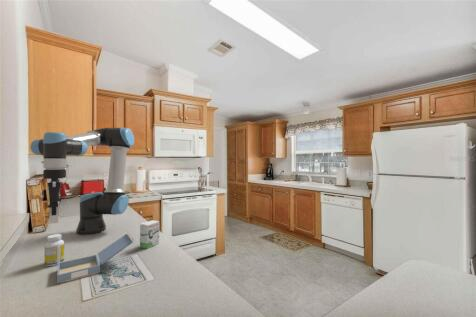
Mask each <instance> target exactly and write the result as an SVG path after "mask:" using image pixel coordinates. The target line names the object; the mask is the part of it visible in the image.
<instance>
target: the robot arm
mask: <svg viewBox="0 0 476 317" xmlns="http://www.w3.org/2000/svg"><path fill="white" fill-rule="evenodd" d="M134 144H135V135H134V133H133V131H132V130H131V129H130V128H128V127H101V128H97V129H93V130H88V131H86V132H85V133H78V134H71V135H66V133H63V132H58V131H57V132H55V131H50V132H48V131H47V132H45V133H44V134H43V138H39V139H34V140H32V141H31V143H30V150H31V152H32V154H34V155H36V156H43V160H42V161H41V164H43V165H42V166H43V171H42V176H43V179H46V180H49V179H50V182H49V183H48V192H49V204H48V205H47V207H46V208H48V209H49V225H51V224H58V223H59V216H60V202H62V198H60V192H61V186H62V183H61V181H60V179H64V178H66V177H67V170H66V169H67V156H76V157H77V156H84V155H85V154H86V153H88V148H89V146H90V147H97V146H99V147H100V146H101V147H102V146H103V147H104V146H105V147H108V149H109V150H111V153H110V159H109V160H110V161H109V168H108V179H107V187H106V190H105V191H103V192H102V191H99V192H92V193H87V194H82V195H81V196H80V199H79V221H78V225H77V227H76V228H75V229H76V230H75V234H76V235H77V234H78V236H90V234H91V235H96V233H97V234H100V233H102V231H103V232H104V230H105V231H106V230H107V225H106V223H105V219H104V217H103V216H104V215H112V216H116V215H122V214H124V213H125V212H126V210H127V208H128V205H129V202H130V201H129V196H128V195H127V194H126V191H125V190H124V183H125V173H126V172H125V171H126V162H127V154H128V152H129V151H131V150H130V148H131V147H132V146H134Z"/></svg>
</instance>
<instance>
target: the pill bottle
mask: <svg viewBox="0 0 476 317" xmlns="http://www.w3.org/2000/svg"><path fill="white" fill-rule="evenodd" d="M46 238H47V242H46V243H45V244H44V266H46V267H53V266H58V263H60V262H65V241H64V240H63V239H62V233H61V234H60V233H55V234H51V235H48V236H47V237H46Z"/></svg>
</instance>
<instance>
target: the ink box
mask: <svg viewBox="0 0 476 317" xmlns="http://www.w3.org/2000/svg"><path fill="white" fill-rule="evenodd" d="M158 244H160V221H159V220H152V219H151V220H148V221H146V222H141V223H140V226H139V248H142V249H149V248H151V247H153V246H156V245H158Z"/></svg>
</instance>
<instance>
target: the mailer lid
mask: <svg viewBox="0 0 476 317" xmlns="http://www.w3.org/2000/svg"><path fill="white" fill-rule="evenodd" d="M134 241H135V239H134V237H133V236H132V235H131V234H130V232H129V231H126V234H124V235H123V236H121V237H120V238H118V239H117V240H115V241H114V242H112V243H111V244H110V245H108V246H106V247H105V248H104V249H102V250H100V251H98V253H97V256H98V260H99V263H100V266H101V265H104V264H105V263H107V262H108V261H109V260H110V259H112V258H114V257H115V256H116V255H118V254H119V253H120V252H122V251H123V250H125V249H126V248H127V247H129V246H130V245H131V244H133V243H134Z"/></svg>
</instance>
